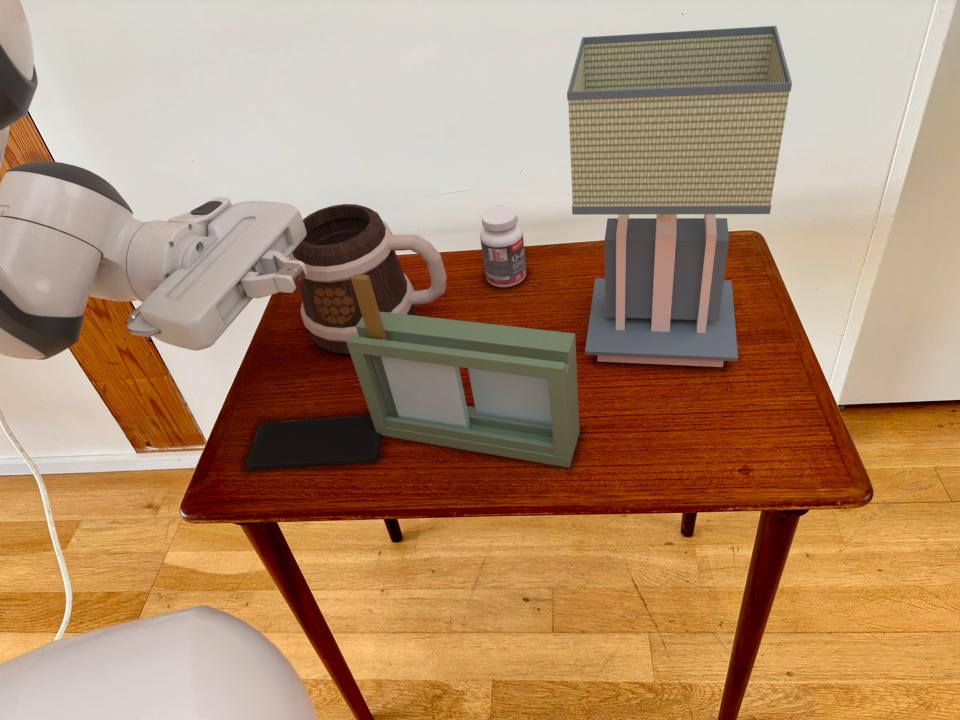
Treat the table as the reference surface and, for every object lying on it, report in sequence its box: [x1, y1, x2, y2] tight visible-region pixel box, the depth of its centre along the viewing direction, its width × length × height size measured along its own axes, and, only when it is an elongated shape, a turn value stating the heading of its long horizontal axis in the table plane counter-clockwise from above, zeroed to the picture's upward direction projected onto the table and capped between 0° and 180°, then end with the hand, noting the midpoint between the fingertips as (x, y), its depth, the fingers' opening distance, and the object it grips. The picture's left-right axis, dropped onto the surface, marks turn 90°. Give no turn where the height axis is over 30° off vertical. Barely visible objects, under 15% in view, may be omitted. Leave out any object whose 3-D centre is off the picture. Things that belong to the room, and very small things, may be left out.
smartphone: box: [245, 414, 383, 471], centre depth 80 cm, size 7×1×15 cm
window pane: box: [351, 274, 471, 429], centre depth 71 cm, size 1×9×19 cm, turn 72°
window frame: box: [346, 312, 581, 469], centre depth 73 cm, size 5×22×14 cm, turn 72°
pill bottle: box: [479, 204, 527, 288], centre depth 95 cm, size 6×6×10 cm
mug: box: [288, 203, 448, 355], centre depth 90 cm, size 20×15×15 cm
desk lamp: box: [566, 25, 793, 368], centre depth 76 cm, size 18×14×33 cm
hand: (299, 277), depth 68 cm, fingers closed
